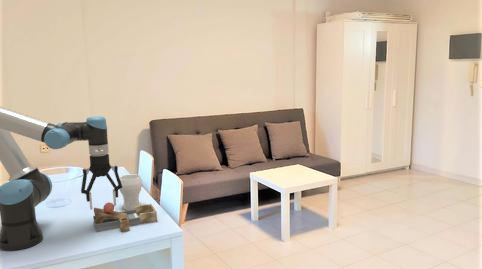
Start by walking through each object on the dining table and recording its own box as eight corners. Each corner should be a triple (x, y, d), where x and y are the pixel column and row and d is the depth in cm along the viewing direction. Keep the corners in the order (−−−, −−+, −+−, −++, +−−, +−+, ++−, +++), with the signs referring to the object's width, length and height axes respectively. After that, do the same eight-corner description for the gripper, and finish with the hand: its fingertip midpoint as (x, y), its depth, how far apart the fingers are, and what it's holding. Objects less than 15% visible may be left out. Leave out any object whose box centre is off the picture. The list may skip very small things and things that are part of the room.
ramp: (96, 227, 164) (94, 213, 163) (94, 220, 171) (93, 207, 170) (129, 221, 169) (128, 208, 168) (126, 215, 177) (125, 202, 176)
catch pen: (140, 224, 170) (140, 214, 169) (136, 215, 180) (135, 206, 179) (157, 221, 173) (156, 211, 172) (151, 213, 183) (151, 203, 182)
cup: (137, 212, 185) (135, 180, 182) (116, 210, 187) (113, 179, 184) (146, 204, 195) (145, 174, 192) (126, 202, 197) (124, 173, 194)
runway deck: (95, 232, 163) (95, 224, 162) (93, 222, 173) (93, 215, 172) (140, 224, 170) (140, 217, 170) (136, 215, 180) (135, 209, 179)
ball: (101, 209, 166) (110, 202, 167) (100, 205, 170) (109, 199, 171) (108, 216, 167) (117, 209, 168) (107, 213, 171) (115, 206, 172)
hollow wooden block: (121, 232, 162) (120, 221, 162) (119, 229, 165) (119, 218, 165) (129, 230, 164) (128, 220, 163) (128, 227, 167) (127, 217, 166)
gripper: (71, 159, 156) (76, 213, 160) (127, 153, 165) (130, 205, 169) (70, 155, 163) (75, 207, 167) (124, 149, 172) (128, 200, 176)
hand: (103, 206), depth 168 cm, fingers open, 9 cm apart
